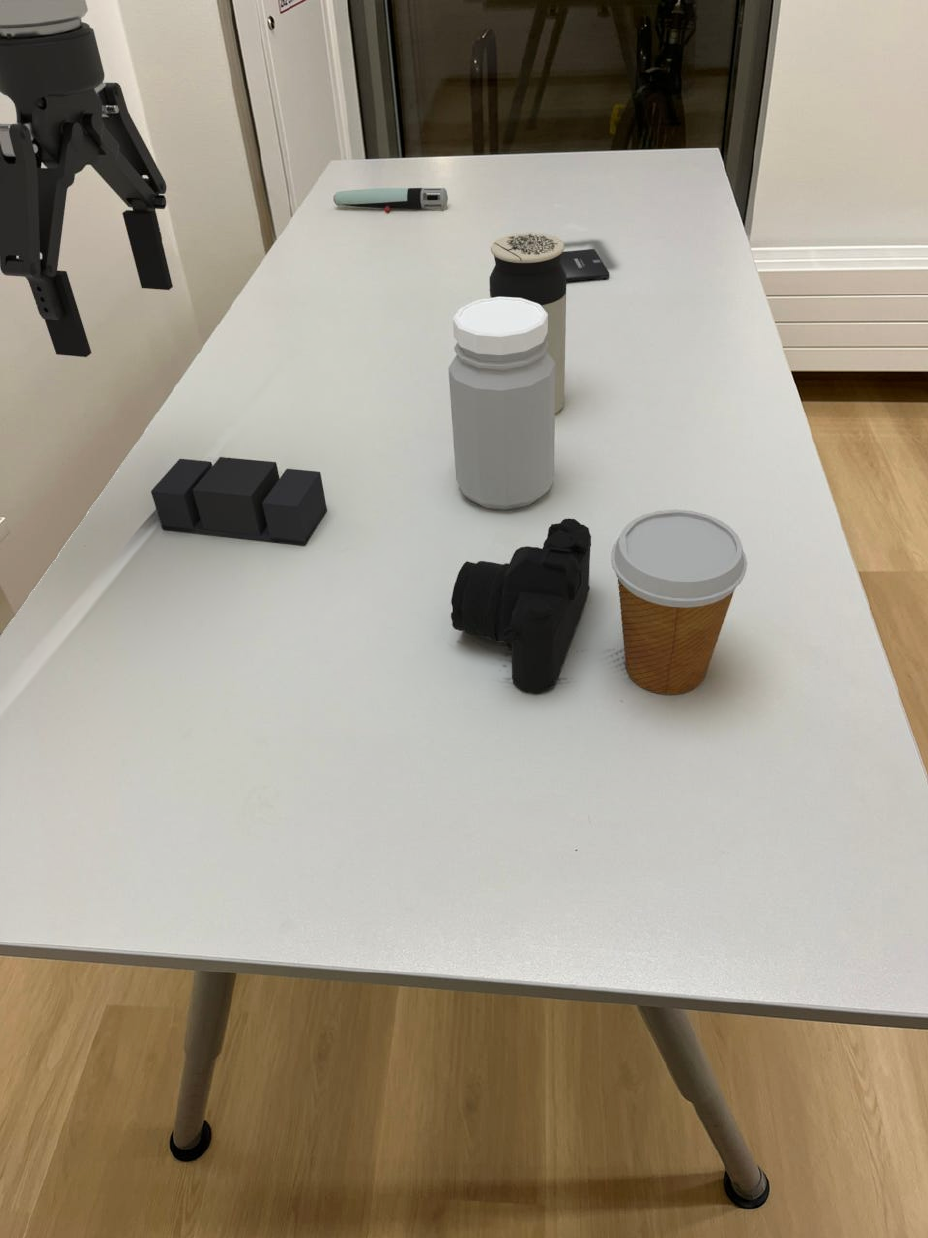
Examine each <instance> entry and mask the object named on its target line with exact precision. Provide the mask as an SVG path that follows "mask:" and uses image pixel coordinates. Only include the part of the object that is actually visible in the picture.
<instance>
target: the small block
mask: <svg viewBox="0 0 928 1238" xmlns="http://www.w3.org/2000/svg"><path fill="white" fill-rule="evenodd" d="M279 479H280V473H279V469H278V463H277V462H276V461H269V460H268V461H267V460H258V459H257V460H256V459H247V458H234V457H225V456H220V457H218V458H217V460H216V461H215V462H214V464H212V467H211V468H210V470H209V471H208V472H207V473H206V474H205V476H204V477H203V478H202V479H201V480H200V482H199V483H198V484H197V485H196V486H195V488H194V489H193V494H194V497H195V501H196V504H197V508H198V511H199V515H200V518H201V522H202V525H203V529H208V530H217V531H226V532H235V533H243V534H252V535H261V534H262V532H263V531H264V529H265V528H266V526H267V522H266V518H265V513H264V509H263V505H262V502H263V501H264V500H265V498H266V497H267V495H268V494H269V493H270V491H271V490H272V488H273V487H274V486H275V484H276V483H277V482H278V480H279Z"/></svg>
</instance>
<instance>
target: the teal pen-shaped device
mask: <svg viewBox="0 0 928 1238" xmlns="http://www.w3.org/2000/svg"><path fill="white" fill-rule="evenodd" d="M448 200H449V197H448V191H447V189H446V187H432V188H431V187H429V188H428V187H396V188H395V187H392V188H391V187H389V188H386V187H385V188H366V189H365V188H364V189H363V188H362V189H351V190H342V191H336V192H335V193H334V195H333V202H334V204H335V206H336V207H342V208H352V209H353V208H354V209H369V210H371V209H373V210H384V212H385V213H386V214H389V213H390V210H427V209H429V210H431V209H433V210H434V209H438V210H440V209H442V210H443V209H446V208H447V207H448Z"/></svg>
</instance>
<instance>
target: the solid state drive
mask: <svg viewBox="0 0 928 1238" xmlns="http://www.w3.org/2000/svg"><path fill="white" fill-rule="evenodd" d="M599 255H600V254H598V252H597V251H596V249H595V248H588V249H579V250H578V249H577V250H567V251H563V252H562V254H561V259H560V263H561V265H562V267H563V269H564V271H565V273H566V283H568V282H573V281H582V280H584V281H589V280H592V279H596V280H602V279H603V280H605V279H604V278H606V279H609V278H610V271H609V270H608V268H607V266H606V265H605V264H604V262H603V260H602V259H601V257H600V256H599Z"/></svg>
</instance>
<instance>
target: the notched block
mask: <svg viewBox="0 0 928 1238" xmlns="http://www.w3.org/2000/svg"><path fill="white" fill-rule="evenodd" d="M174 463H175V464H173V465H172V466H171V468H170V469H168V471H167V473H166V474H164V475H163V477H162V478H161V479H160V480H159V481H158V483H156V485H155V486H154V487H153V488H152V489H151V490H150V493H151V497H152V500H153V503H154V506H155V509H156V512H157V516H158V518H159V522H160V527H161V528H162V530H163V531H170V532H171V531H172V532H179V533H180V532H181V533H188V534H196V535H197V534H198V535H206V536H215V537H224V538H232V539H233V538H234V539H241V540H250V541H259V542H267V543H277V544H285V545H295V546H301V547H306V546H307V543H308V542H309V540H310V539H311V537H312V536H313V534H314V532H315V531H316V529H317V527H318V526H319V524H320V523H321V521H322V520H323V518H324V517H325V515H326V513H327V511H328V506H327V501H326V495H325V490H324V485H323V480H322V474H321V471H316V470H307V469H294V468H286V469H285V470H284V472H283V473H282V475H281V476H279V478H280V479H279V480H278V482H277V483H276V484H275V486H274V487H273V488H272V490H271V491H270V493H269V494H268V495H267V497H266V498H265V500H264V501H263V502H262V505H263V509H264V513H265V518H266V522H267V526H266V528H265V529H264V531H263V532H262V534H261V535H252V534H243V533H235V532H226V531H217V530H208V529H203V525H202V522H201V518H200V515H199V511H198V508H197V504H196V501H195V497H194V494H193V489H194V488H195V486H196V485H197V484H198V483H199V482H200V480H201V479H202V478H203V477H204V476H205V474H206V473H207V472H208V471H209V470H210V468H211V467H212V466H213V463H212V461H209V460H200V459H199V460H198V459H188V458H179V459H178V460H177V461H176V462H174Z"/></svg>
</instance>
